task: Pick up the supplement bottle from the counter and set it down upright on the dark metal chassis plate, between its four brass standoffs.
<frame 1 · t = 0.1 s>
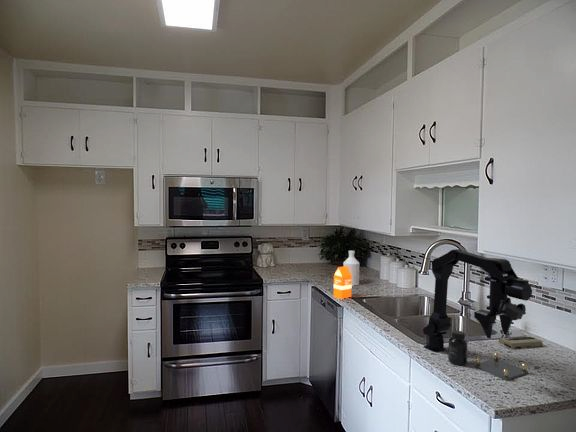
hand: (497, 336, 140), 15 cm above the worktop, tool pointing down, fingers open, 9 cm apart
bottle: (351, 284, 287), on the worktop
olive rectangular tray: (520, 345, 171), on the worktop
supplement bottle: (457, 362, 152), on the worktop
orange juice: (342, 297, 250), on the worktop
chassis plate: (500, 369, 146), on the worktop
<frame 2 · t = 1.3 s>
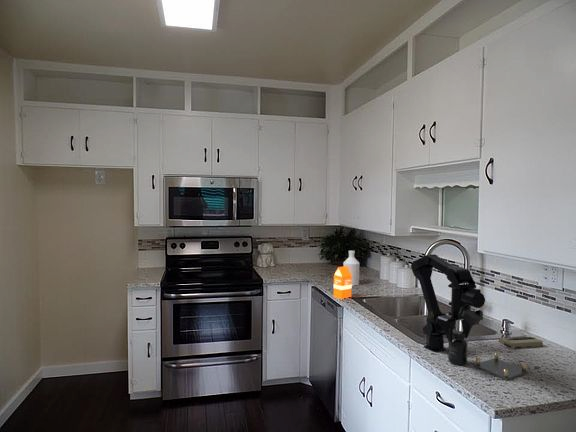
hand: (457, 339, 152), 9 cm above the worktop, tool pointing down, fingers open, 9 cm apart
nothing on the worktop moved.
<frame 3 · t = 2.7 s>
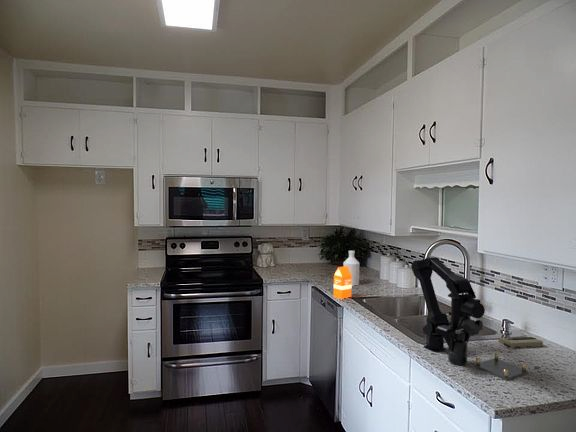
hand: (457, 349, 152), 5 cm above the worktop, tool pointing down, fingers closed on supplement bottle, 7 cm apart
supplement bottle: (457, 362, 152), on the worktop, touching gripper
everything else where it was.
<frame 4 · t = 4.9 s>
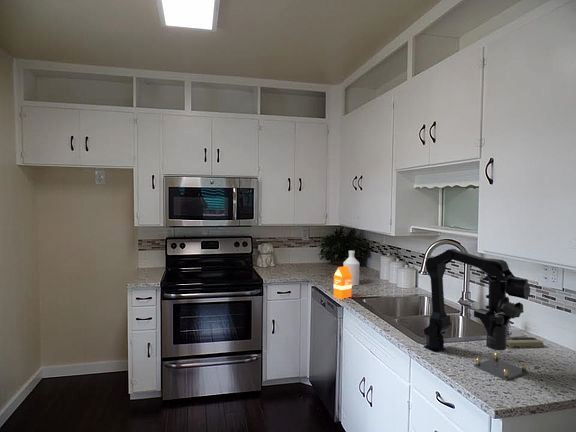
hand: (496, 334, 145), 13 cm above the worktop, tool pointing down, fingers closed on supplement bottle, 7 cm apart
supplement bottle: (496, 348, 146), point 8 cm above the worktop, touching gripper
everything else where it was.
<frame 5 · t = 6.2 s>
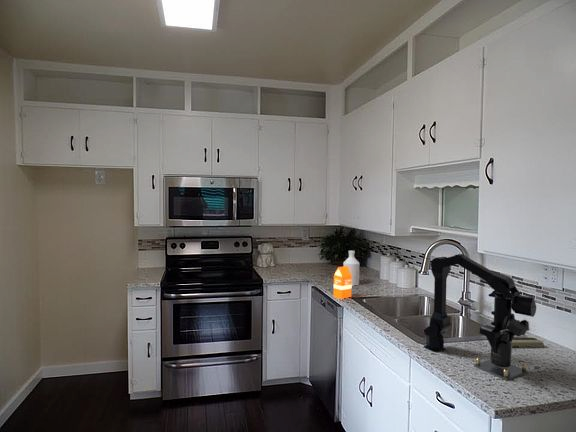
hand: (501, 350, 145), 7 cm above the worktop, tool pointing down, fingers closed on supplement bottle, 7 cm apart
supplement bottle: (500, 364, 145), point 2 cm above the worktop, touching gripper
everything else where it was.
when the fingers open (7 cm above the worktop, at t = 7.0 s): supplement bottle drops 1 cm, resting on chassis plate.
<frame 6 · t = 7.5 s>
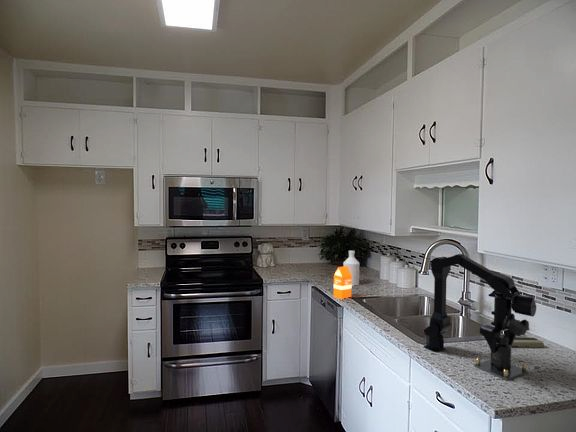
hand: (501, 350, 145), 7 cm above the worktop, tool pointing down, fingers open, 9 cm apart
supplement bottle: (500, 368, 146), point 1 cm above the worktop, touching chassis plate
everything else where it was.
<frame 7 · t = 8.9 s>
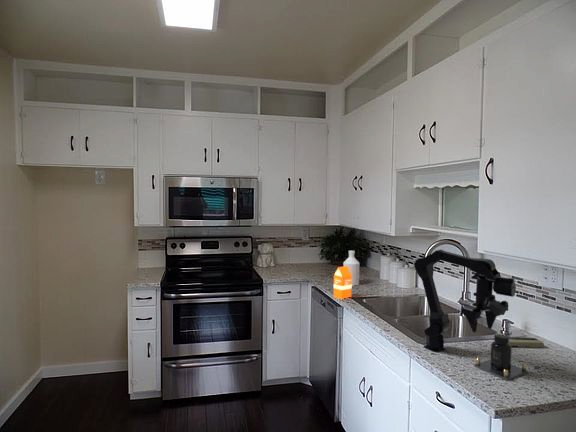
hand: (481, 330, 152), 13 cm above the worktop, tool pointing down, fingers open, 9 cm apart
nothing on the worktop moved.
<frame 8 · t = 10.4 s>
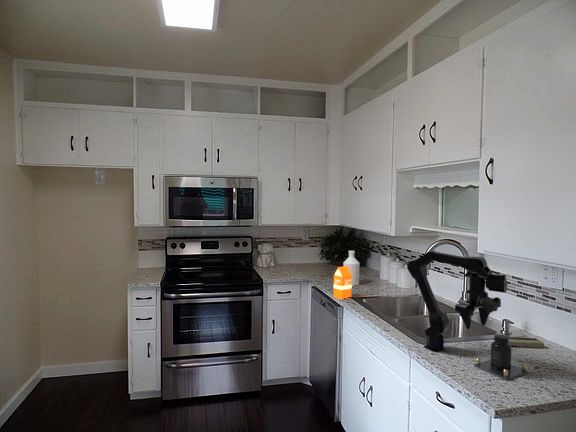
hand: (475, 327, 155), 13 cm above the worktop, tool pointing down, fingers open, 9 cm apart
at the end: supplement bottle 0.1 cm off-centre on the chassis plate, point 0.6 cm above the chassis plate's base; supplement bottle tilted 0°; the gripper is holding nothing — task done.
